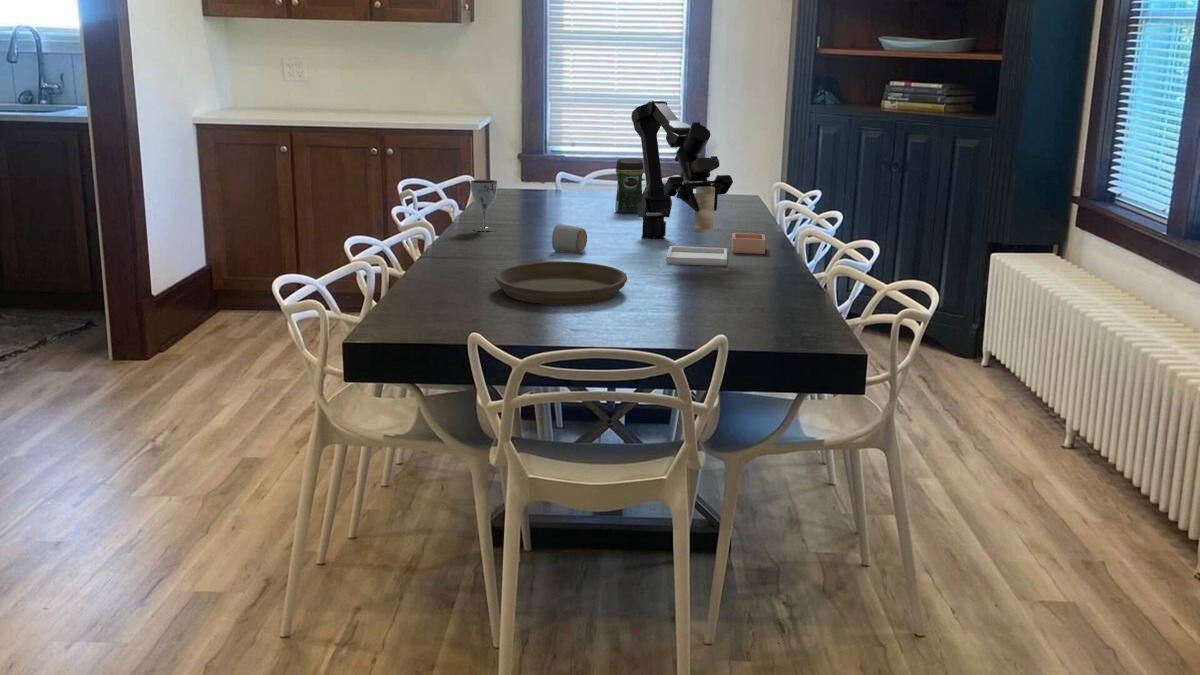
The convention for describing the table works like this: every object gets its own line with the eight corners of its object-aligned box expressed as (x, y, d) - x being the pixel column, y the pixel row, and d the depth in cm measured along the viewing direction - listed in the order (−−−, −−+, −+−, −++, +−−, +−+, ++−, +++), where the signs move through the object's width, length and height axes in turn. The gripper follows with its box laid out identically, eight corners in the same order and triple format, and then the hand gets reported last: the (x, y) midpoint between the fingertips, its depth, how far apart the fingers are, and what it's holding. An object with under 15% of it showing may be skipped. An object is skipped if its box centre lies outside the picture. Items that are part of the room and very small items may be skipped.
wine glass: (466, 231, 338) (466, 181, 334) (479, 227, 345) (478, 179, 341) (489, 233, 335) (489, 183, 331) (501, 229, 342) (501, 180, 338)
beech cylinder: (691, 231, 300) (692, 187, 297) (700, 229, 304) (702, 185, 301) (706, 234, 297) (708, 189, 294) (716, 231, 301) (718, 187, 298)
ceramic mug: (578, 255, 304) (578, 227, 302) (550, 252, 307) (551, 225, 305) (592, 249, 314) (593, 222, 312) (566, 247, 316) (566, 220, 314)
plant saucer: (580, 315, 240) (580, 295, 239) (468, 296, 256) (467, 277, 255) (650, 289, 266) (651, 271, 265) (544, 273, 282) (544, 256, 280)
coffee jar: (641, 210, 383) (643, 156, 378) (644, 214, 375) (645, 159, 370) (613, 210, 382) (615, 156, 377) (615, 214, 374) (617, 159, 369)
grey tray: (666, 263, 295) (666, 257, 295) (669, 252, 310) (669, 246, 310) (726, 266, 294) (727, 259, 293) (726, 254, 309) (726, 248, 308)
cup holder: (731, 254, 309) (732, 238, 308) (731, 248, 318) (732, 233, 317) (764, 255, 308) (765, 239, 307) (763, 249, 317) (764, 234, 316)
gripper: (669, 146, 295) (685, 193, 288) (731, 145, 301) (748, 191, 294) (656, 172, 304) (671, 218, 297) (717, 170, 311) (733, 215, 304)
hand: (706, 210), depth 298 cm, fingers closed on beech cylinder, 5 cm apart
